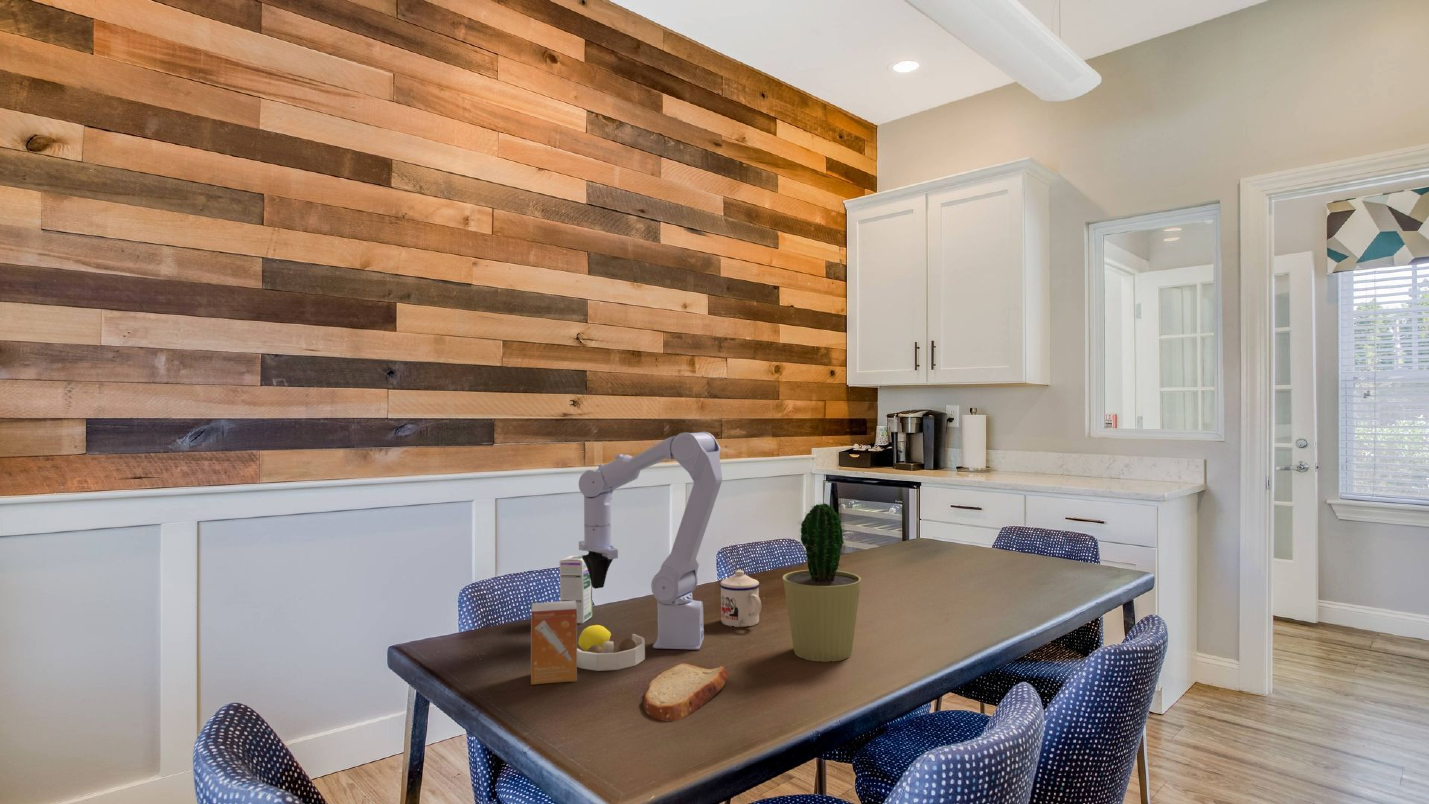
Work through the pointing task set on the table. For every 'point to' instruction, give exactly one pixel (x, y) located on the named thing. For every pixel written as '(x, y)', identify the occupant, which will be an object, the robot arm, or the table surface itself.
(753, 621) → the teacup with lid
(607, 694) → the table surface
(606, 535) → the robot arm
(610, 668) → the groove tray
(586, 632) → the lemon
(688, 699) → the slice of bread
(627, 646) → the walnut bead
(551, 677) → the small box
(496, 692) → the table surface
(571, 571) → the syrup box
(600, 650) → the walnut bead
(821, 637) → the potted cactus
